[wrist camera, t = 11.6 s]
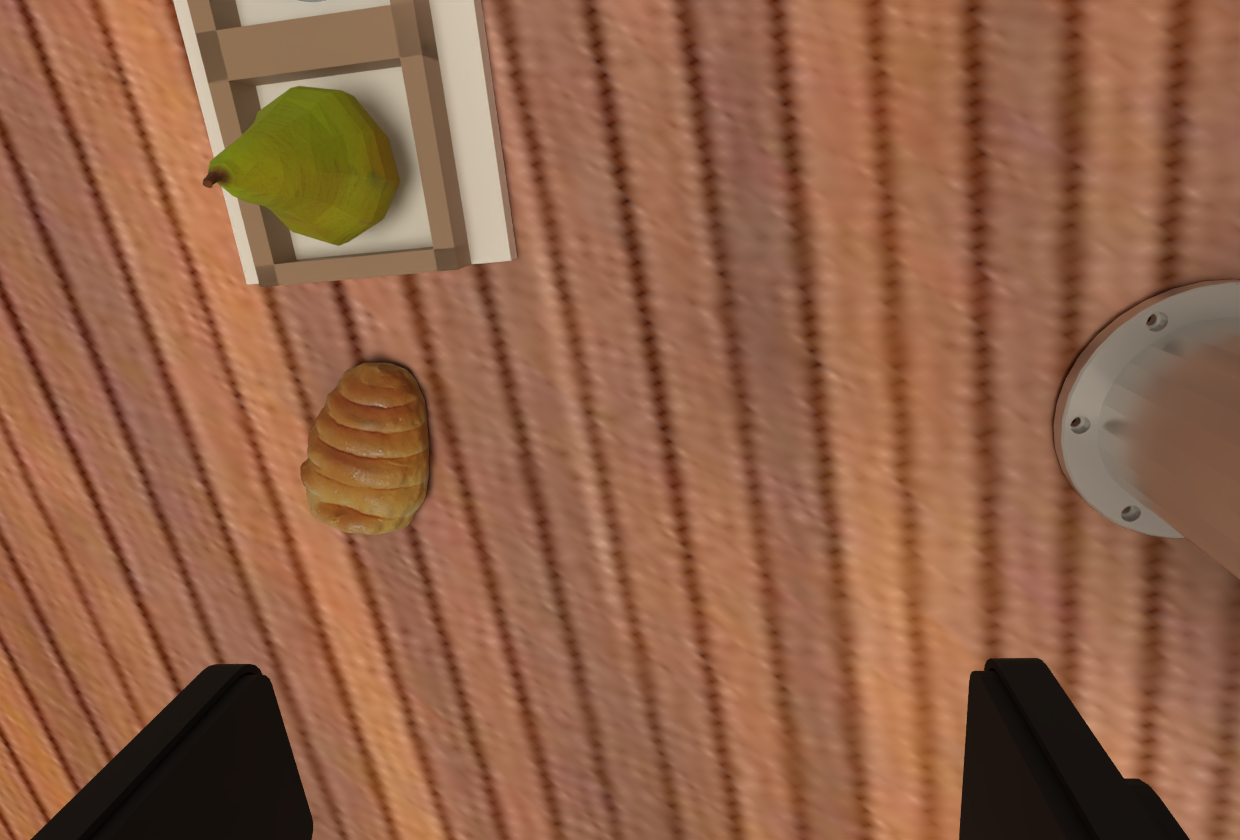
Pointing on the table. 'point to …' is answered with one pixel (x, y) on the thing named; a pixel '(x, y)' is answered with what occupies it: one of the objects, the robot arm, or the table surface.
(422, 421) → the pastry
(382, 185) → the fruit
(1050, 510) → the table surface
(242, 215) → the tray
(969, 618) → the table surface
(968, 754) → the robot arm
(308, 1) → the pale blue rounded block
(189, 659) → the table surface
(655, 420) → the table surface
